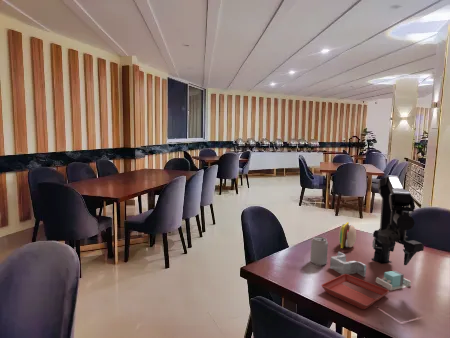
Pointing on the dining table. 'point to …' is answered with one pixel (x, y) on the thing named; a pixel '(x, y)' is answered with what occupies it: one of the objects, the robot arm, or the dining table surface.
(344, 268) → the bracket
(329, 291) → the plant saucer
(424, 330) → the dining table surface
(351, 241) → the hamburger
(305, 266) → the dining table surface
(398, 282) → the plug
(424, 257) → the dining table surface
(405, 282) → the white flat channel piece
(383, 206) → the robot arm
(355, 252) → the dining table surface
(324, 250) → the can
